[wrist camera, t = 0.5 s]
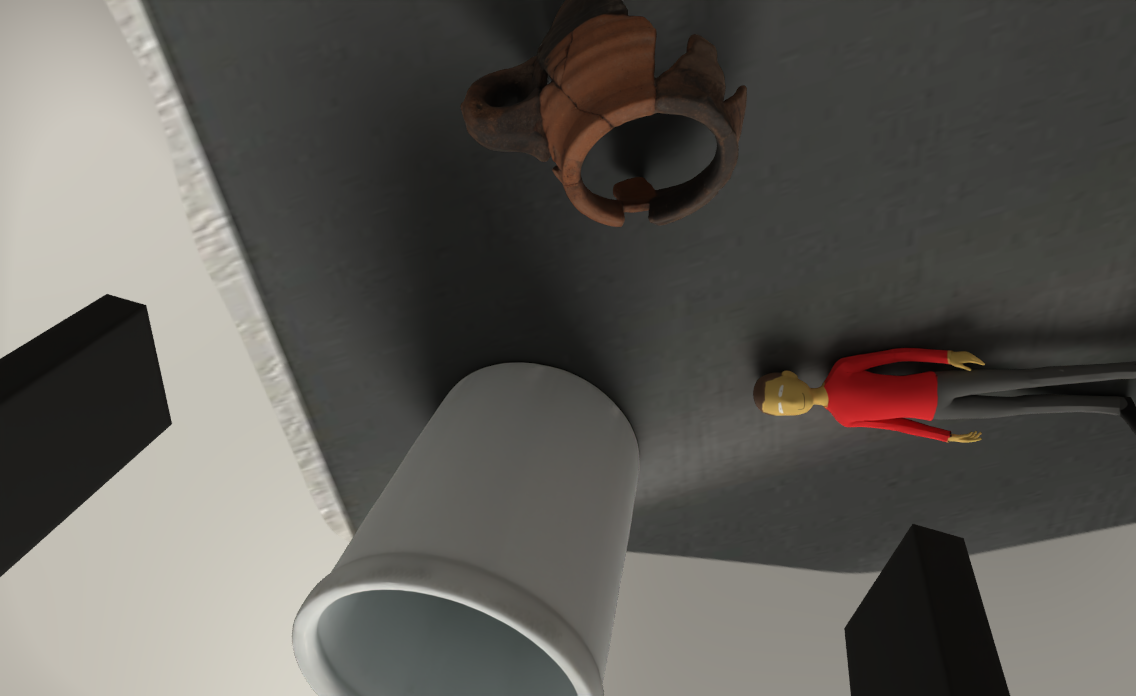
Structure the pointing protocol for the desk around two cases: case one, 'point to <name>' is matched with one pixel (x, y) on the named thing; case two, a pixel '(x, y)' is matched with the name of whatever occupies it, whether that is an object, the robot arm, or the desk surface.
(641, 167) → the desk surface
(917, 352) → the person figure
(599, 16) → the broken clay pot
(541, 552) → the utensil holder
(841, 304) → the desk surface
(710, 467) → the desk surface
